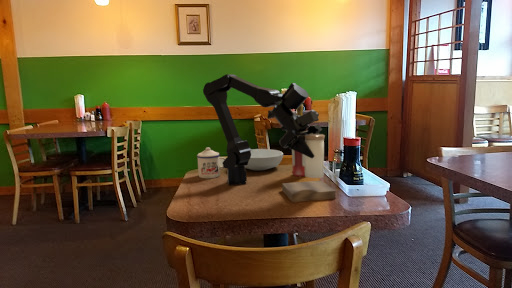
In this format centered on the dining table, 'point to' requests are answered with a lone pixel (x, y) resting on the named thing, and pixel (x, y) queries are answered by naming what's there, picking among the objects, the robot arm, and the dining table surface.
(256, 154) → the serving bowl
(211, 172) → the teacup with lid
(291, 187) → the beige rectangular box
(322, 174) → the cream jar
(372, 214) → the dining table surface
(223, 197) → the dining table surface
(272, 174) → the dining table surface
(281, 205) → the dining table surface
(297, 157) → the liquor
